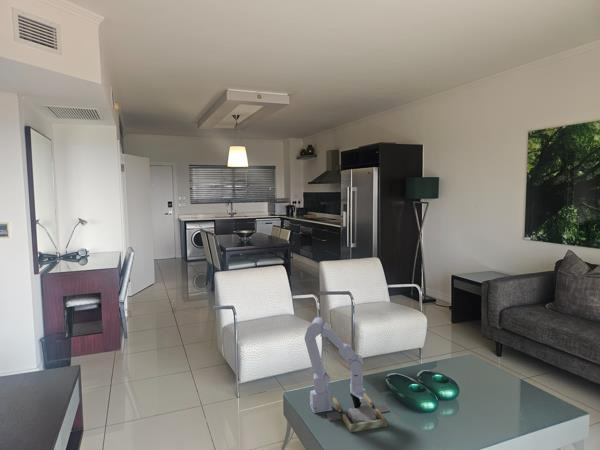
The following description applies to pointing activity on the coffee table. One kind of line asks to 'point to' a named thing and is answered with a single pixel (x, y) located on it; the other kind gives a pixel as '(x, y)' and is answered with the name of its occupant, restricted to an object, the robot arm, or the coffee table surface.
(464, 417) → the coffee table surface
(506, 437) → the coffee table surface
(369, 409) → the stone block
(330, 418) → the trap pits
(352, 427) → the tan u-shaped piece
